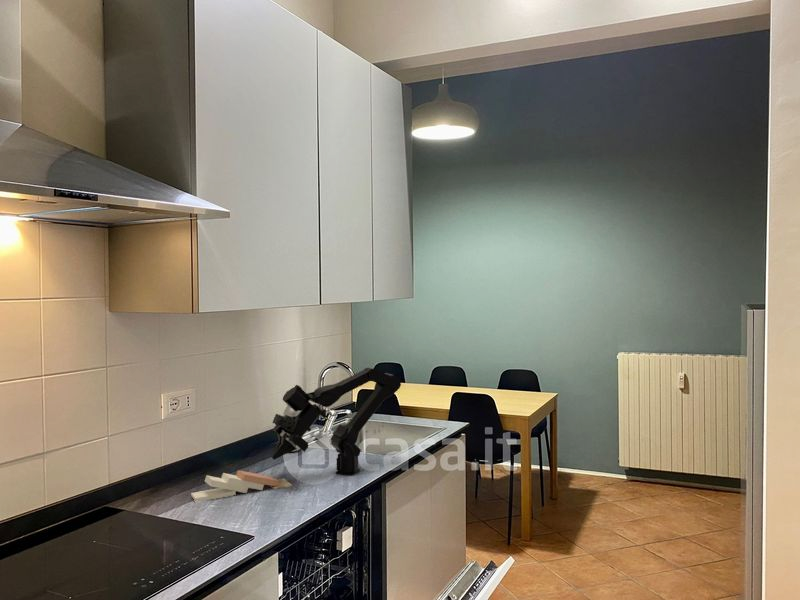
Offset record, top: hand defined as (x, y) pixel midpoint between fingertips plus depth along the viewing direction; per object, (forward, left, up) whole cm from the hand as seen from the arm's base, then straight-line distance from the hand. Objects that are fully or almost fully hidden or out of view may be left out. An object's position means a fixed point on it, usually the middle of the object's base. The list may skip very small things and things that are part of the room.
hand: (272, 458), depth 203 cm
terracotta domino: (0, 0, -7) cm, 7 cm away
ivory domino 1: (+8, +10, -8) cm, 15 cm away
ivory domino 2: (+6, +7, -8) cm, 12 cm away
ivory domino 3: (+3, +4, -8) cm, 9 cm away
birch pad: (-1, -1, -9) cm, 9 cm away
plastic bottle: (+15, -38, -9) cm, 42 cm away
